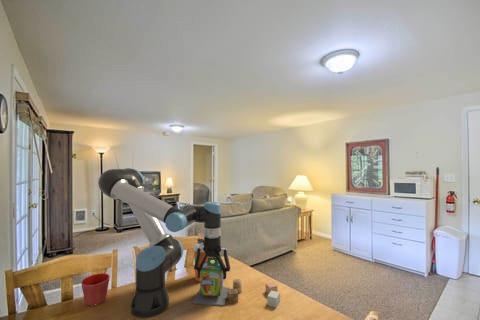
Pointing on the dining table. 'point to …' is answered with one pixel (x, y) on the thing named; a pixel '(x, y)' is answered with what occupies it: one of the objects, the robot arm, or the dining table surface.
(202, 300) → the mat
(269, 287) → the terracotta cube
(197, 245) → the shaker bottle
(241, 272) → the dining table surface
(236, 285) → the oak cylinder
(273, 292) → the grey plastic block
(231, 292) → the walnut block
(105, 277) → the flower pot
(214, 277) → the chalk box
